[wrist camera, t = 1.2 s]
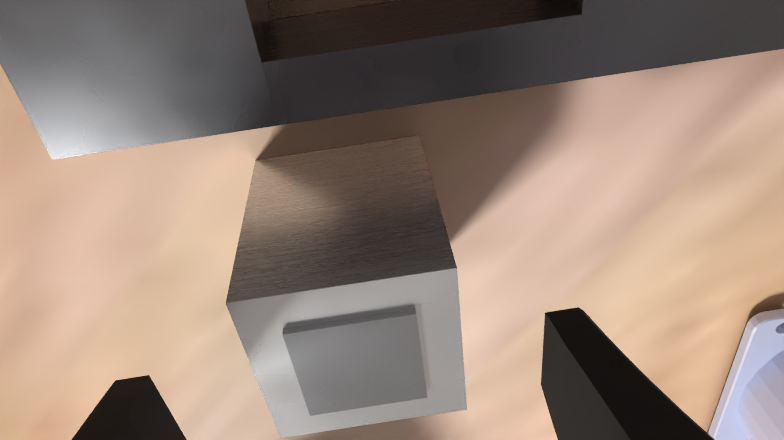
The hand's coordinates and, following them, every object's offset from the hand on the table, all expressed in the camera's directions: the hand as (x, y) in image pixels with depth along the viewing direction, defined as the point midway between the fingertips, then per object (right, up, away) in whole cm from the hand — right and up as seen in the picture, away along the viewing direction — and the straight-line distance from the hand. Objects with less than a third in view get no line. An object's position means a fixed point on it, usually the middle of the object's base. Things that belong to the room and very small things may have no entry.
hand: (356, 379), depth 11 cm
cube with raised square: (0, +3, +4) cm, 5 cm away
